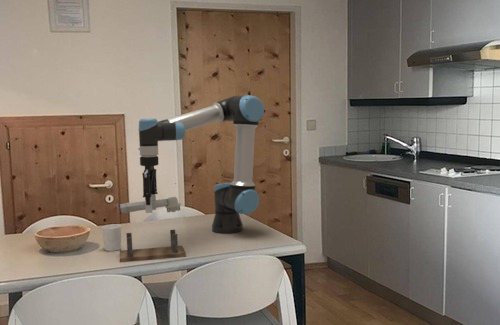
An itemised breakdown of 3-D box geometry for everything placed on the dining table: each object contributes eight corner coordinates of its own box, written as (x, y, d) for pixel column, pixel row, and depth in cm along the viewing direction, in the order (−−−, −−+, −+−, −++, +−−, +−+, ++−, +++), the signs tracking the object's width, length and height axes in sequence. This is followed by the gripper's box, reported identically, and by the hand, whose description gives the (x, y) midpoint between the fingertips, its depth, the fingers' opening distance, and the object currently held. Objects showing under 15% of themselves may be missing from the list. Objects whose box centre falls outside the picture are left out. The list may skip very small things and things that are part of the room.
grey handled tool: (119, 202, 231) (178, 193, 233) (122, 218, 232) (181, 208, 234) (118, 205, 226) (178, 195, 228) (120, 220, 227) (181, 210, 229)
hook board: (182, 248, 235) (181, 228, 234) (185, 256, 223) (185, 234, 222) (120, 254, 229) (118, 232, 228) (120, 262, 217) (119, 239, 216)
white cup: (102, 248, 239) (100, 225, 238) (120, 245, 242) (119, 223, 241) (104, 252, 232) (103, 229, 231) (123, 250, 235) (122, 227, 234)
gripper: (146, 153, 237) (147, 207, 240) (133, 158, 219) (135, 215, 221) (163, 153, 237) (164, 207, 239) (152, 158, 218) (154, 215, 221)
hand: (150, 211), depth 230 cm, fingers closed on grey handled tool, 5 cm apart
